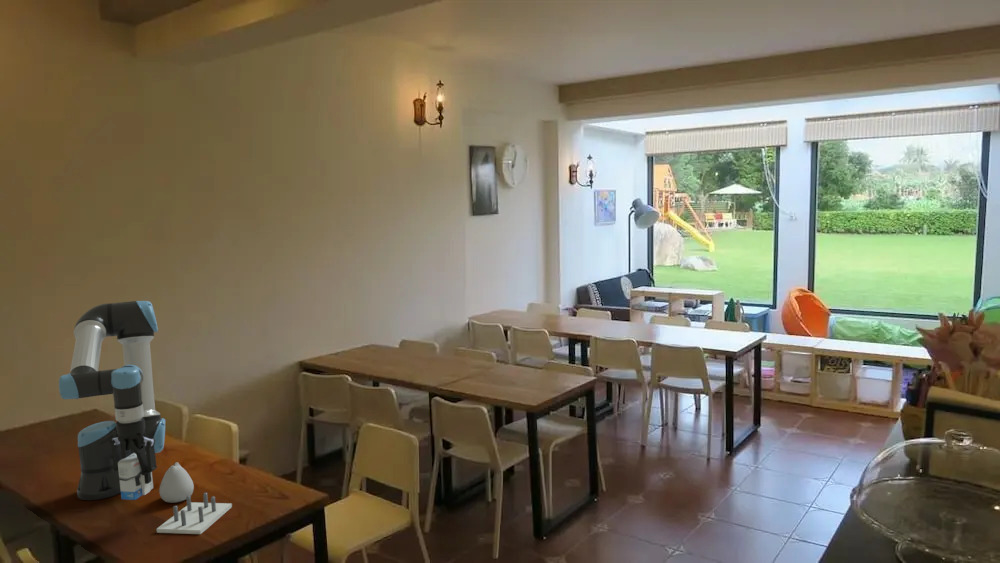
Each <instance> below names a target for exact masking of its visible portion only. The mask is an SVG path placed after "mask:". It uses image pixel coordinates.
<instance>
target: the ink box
mask: <svg viewBox="0 0 1000 563" xmlns="http://www.w3.org/2000/svg"><path fill="white" fill-rule="evenodd" d="M118 471H119V480H120V490H121V493H120V497H121V500H125V501H126V500H127V501H129V500H130V501H136V500H138V499H139V498H141V497H142V496H144V495H143V494H142V485H141V474H142V473H143V472H142V469H141V466H140V463H139V460H138V458H137V455H136V454H135V453H133V454H131V455H130V456H128V457H126V458H124V459H122V460H120V461H119V462H118ZM152 489H154V481H153V471H152V472H151V482H150V491H151V490H152Z"/></svg>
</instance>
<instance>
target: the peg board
mask: <svg viewBox="0 0 1000 563" xmlns="http://www.w3.org/2000/svg"><path fill="white" fill-rule="evenodd" d="M202 494H203V495H202V496H203V502H192V501H191V499H192V496H187V497H186V506H185V507H183V508H182V509H181V510H178V508H179V507H178V505H174V506H172V509H173V510H172V512H173V516H171V517H170V518H169V519H167V520H166V521H165V522H163V523H162V524H161V525H160V526H158V527H157V528H156V534H157V533H159V534H183V535H184V534H186V535H187V534H188V535H189V534H190V535H201V534H203V533H204V532H205V531H206V530H208V529H209V528H210V527H211V526H212V525H213V524H215V522H216V521H218V520H219V519H220V518H221V517H223V516H224V515H225V513H227V512H228V511H229V510H230V509H232V508H233V503H231V502H230V503H229V502H228V503H226V502H222V503H221V502H216V496H214V495H213V496H211V497H210V502H209V500H208V498H209V497H208V492H203V493H202Z"/></svg>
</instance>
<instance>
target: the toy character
mask: <svg viewBox="0 0 1000 563" xmlns="http://www.w3.org/2000/svg"><path fill="white" fill-rule="evenodd" d="M194 489H195V486H194V481H193V480H192V478H191V476H190V474H189V473H188V472H187V470H186V469H185V468H184V467H182V466H181V464H180V463H179V462H178V461H177V462H175V463H174V464H173V465H170V466H169V468H168V469H167V470H166V471H165V473H164V475H163V477H162V480H161V482H160V484H159V490H158V492H159V496H160V498H161V499H162V500H163V502H166V503H170V504H171V503H172V504H173V503H175V504H176V503H180V502H183V501H185V500H186V501H187V499H186V497H187V496H190V497H192V495H193V493H194Z"/></svg>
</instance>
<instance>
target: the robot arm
mask: <svg viewBox="0 0 1000 563" xmlns="http://www.w3.org/2000/svg"><path fill="white" fill-rule="evenodd" d="M158 332H159V328H158V322H157V318H156V314H155V309H154V306H153V304H152V302H151V301H149V300H132V301H122V302H112V303H102V304H99V305H96V306H93V307H92V308H90V309H88V310H87V311H86V312H85V313H83V314H82V315H81V316H80V317H79V318H78V319H77V322H76V323H75V325H74V329H73V337H74V339H75V343H74V346H73V347H74V349H73V353H72V357H71V358H72V360H71V364H70V369H69V370H70V371H69V373H67V374H63V375H61V376H60V377H59V379H58V390H59V395H60V397H61V399H63V400H78V399H83V398H91V397H99V396H106V395H112V398H113V403H114V406H113V407H114V415H115V416H114V417H115V421H114V420H105V421H100V422H95V423H93V424H91V425H88V426H87V427H84V428H83V429H81V430H80V431H79V432H78V434H77V447H78V455H79V464H80V477H79V481H78V485H77V489H76V495H77V498H78V499H79V500H82V501H98V500H104V499H108V498H111V497H114V496H117V495H118V494H121V490H120V480H119V471H118V462H119V461H120V460H122V459H124V458H126V457H128V456H130V455H131V454H133V453H135V454H136V455H137V458H138V460H139V463H140V466H141V469H142V472H143V473H142V474H141V485H142V494H143V495H142V496H145V495H147V494H148V493H151V490H150V482H151V472H152V473H153V472H154V471H155V470H156V469H157V457H156V454H157V453H158V454H159V453H161V452H162V451H163V450H164V448H165V438H166V418H163V417H162V418H161V412H159V411H157V410H156V405H155V403H156V401H155V392H154V391H155V390H154V380H153V367H152V366H153V364H152V355H151V353H152V352H151V342H152V341H153V340H154V338H155V333H158ZM110 337H117V338H116V339H117V343H119V344H121V346H122V353H123V354H122V355H123V366H121V367H120V368H119V367H118V368H114V369H107V370H106V369H104V370H99V367H100V360H101V352H102V345H103V341H104V340H105V339H106V338H110Z"/></svg>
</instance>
